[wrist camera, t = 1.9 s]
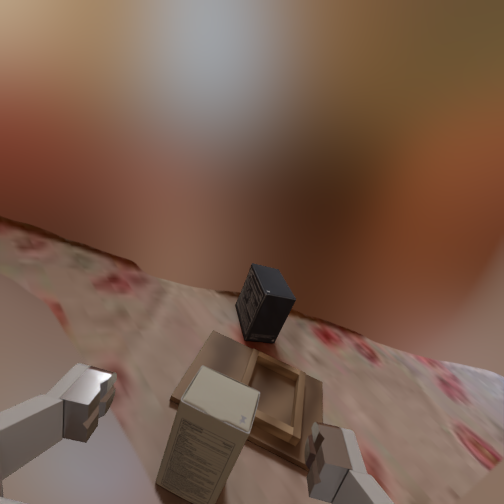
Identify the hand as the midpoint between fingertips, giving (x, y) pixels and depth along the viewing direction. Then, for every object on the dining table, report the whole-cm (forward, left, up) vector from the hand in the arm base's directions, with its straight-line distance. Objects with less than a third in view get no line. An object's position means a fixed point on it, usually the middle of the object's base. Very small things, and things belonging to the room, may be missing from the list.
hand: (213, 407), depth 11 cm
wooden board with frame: (+4, +22, -22) cm, 32 cm away
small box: (0, +37, -23) cm, 44 cm away
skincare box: (0, +9, -23) cm, 24 cm away
